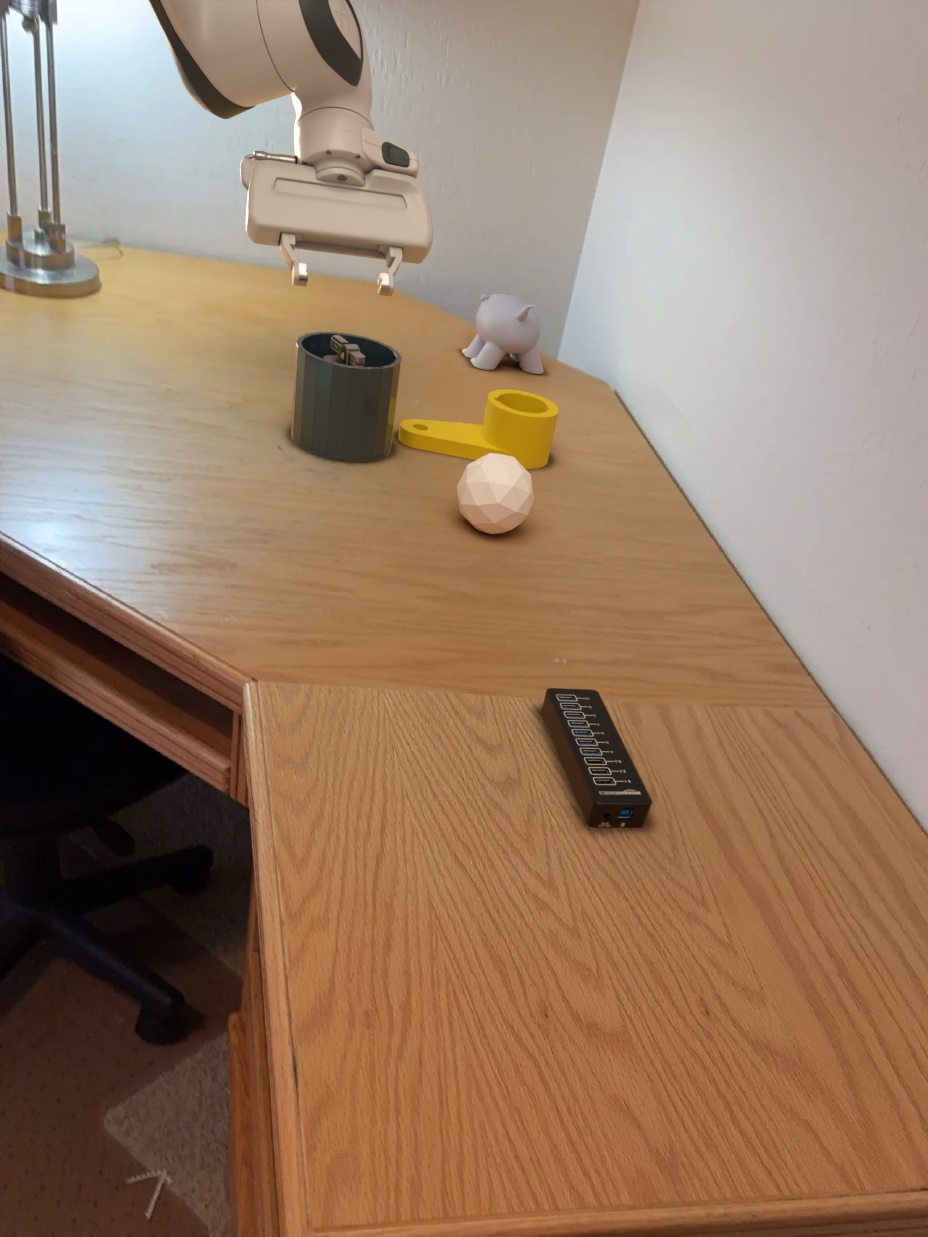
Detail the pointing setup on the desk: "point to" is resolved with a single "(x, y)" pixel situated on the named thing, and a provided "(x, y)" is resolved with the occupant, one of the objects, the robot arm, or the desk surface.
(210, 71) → the robot arm
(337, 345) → the lighter
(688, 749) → the desk surface
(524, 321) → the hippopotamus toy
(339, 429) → the pen cup
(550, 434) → the crank
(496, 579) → the desk surface
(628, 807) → the multiport hub
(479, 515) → the geometric ball
